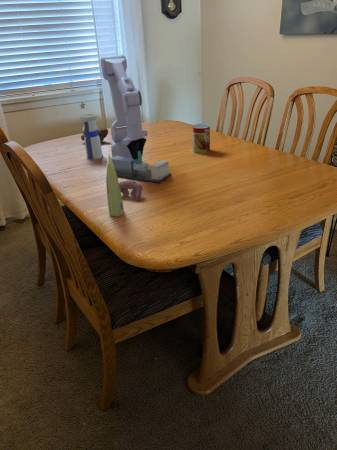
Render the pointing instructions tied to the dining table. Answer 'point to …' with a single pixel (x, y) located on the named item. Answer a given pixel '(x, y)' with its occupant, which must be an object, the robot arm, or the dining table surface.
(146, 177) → the grey long angular block
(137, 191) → the video game controller
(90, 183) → the dining table surface
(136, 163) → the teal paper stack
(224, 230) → the dining table surface
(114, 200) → the tube
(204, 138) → the canned food
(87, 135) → the water bottle
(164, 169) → the socket
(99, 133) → the decorative turtle
